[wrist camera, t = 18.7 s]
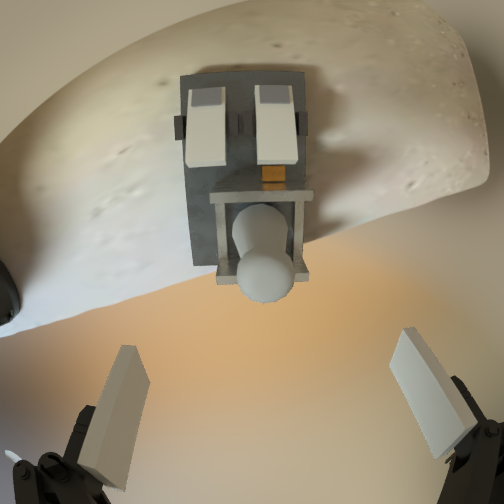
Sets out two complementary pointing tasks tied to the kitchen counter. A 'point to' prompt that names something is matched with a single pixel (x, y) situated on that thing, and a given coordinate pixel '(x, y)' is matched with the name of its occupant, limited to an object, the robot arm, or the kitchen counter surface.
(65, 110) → the kitchen counter surface
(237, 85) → the grey mechanical fixture
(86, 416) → the robot arm
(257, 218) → the salt shaker
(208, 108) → the rocker
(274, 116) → the rocker
